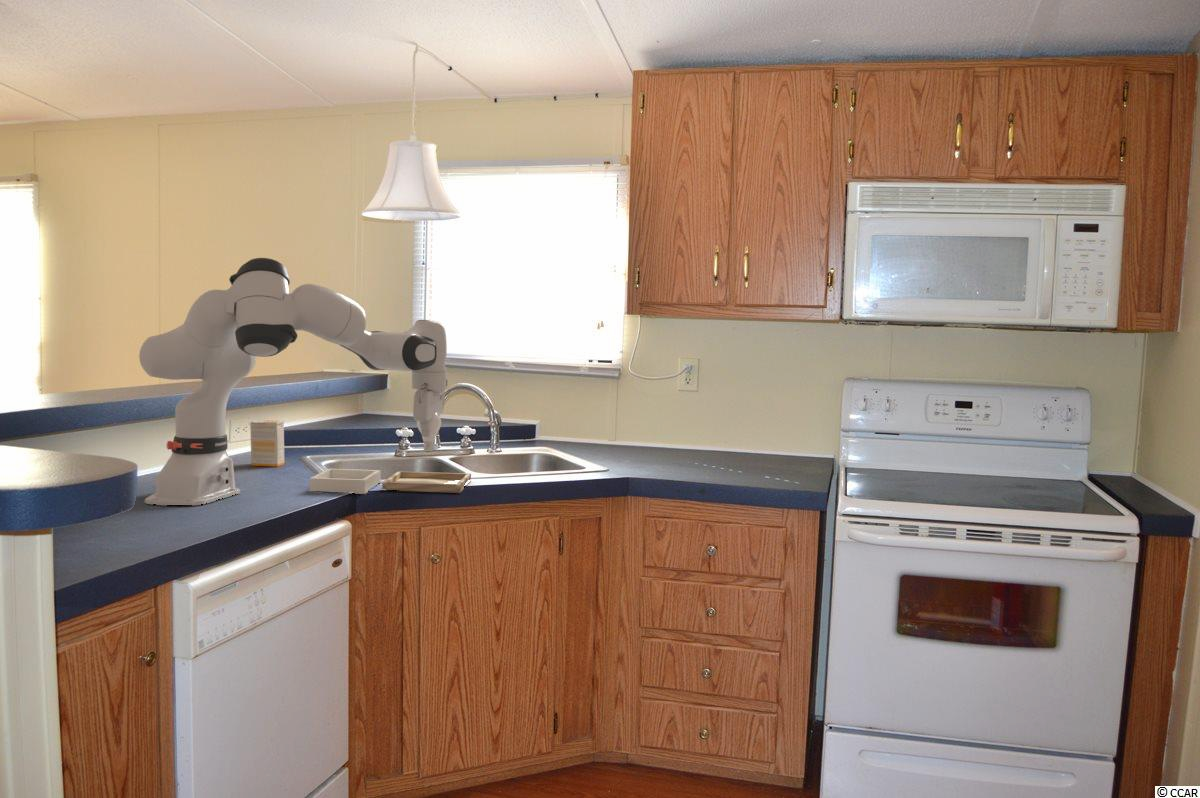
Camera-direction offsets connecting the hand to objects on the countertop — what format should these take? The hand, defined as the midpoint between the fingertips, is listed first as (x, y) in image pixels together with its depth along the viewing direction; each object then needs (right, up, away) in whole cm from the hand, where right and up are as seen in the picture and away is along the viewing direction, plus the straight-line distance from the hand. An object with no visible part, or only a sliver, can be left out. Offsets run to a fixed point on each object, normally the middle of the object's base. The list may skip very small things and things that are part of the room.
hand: (428, 434), depth 228 cm
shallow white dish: (-21, -14, -4) cm, 25 cm away
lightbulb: (0, -5, 0) cm, 5 cm away
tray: (0, -14, +2) cm, 14 cm away
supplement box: (-52, -10, +25) cm, 58 cm away
